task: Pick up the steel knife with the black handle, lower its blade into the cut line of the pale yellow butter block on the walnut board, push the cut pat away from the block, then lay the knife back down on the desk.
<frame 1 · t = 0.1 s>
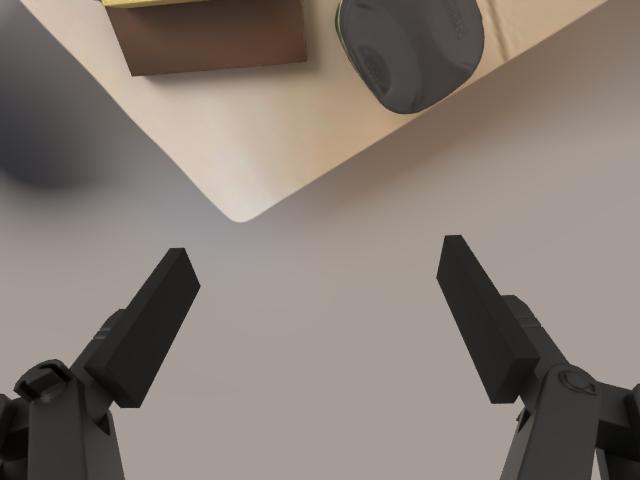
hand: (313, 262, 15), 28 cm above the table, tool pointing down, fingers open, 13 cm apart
coffee jar: (377, 33, 33), on the table
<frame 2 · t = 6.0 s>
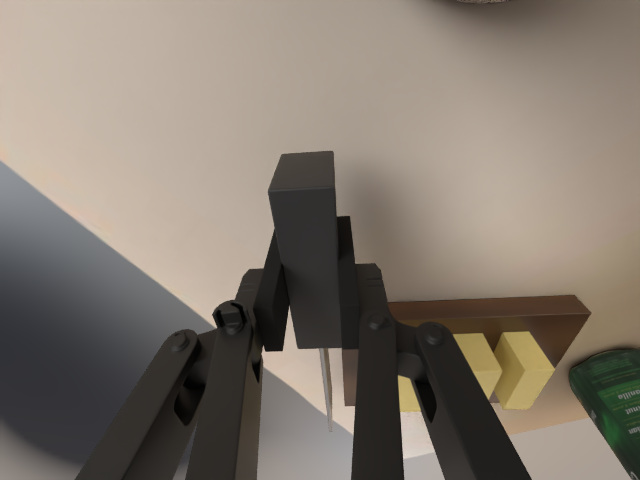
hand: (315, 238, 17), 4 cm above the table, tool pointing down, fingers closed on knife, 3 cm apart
butter block: (418, 355, 27), point 2 cm above the table, touching board
knife: (315, 235, 17), point 4 cm above the table, touching gripper
board: (441, 348, 30), on the table
coffee jar: (604, 370, 32), on the table
butter pat: (505, 352, 27), point 2 cm above the table, touching board
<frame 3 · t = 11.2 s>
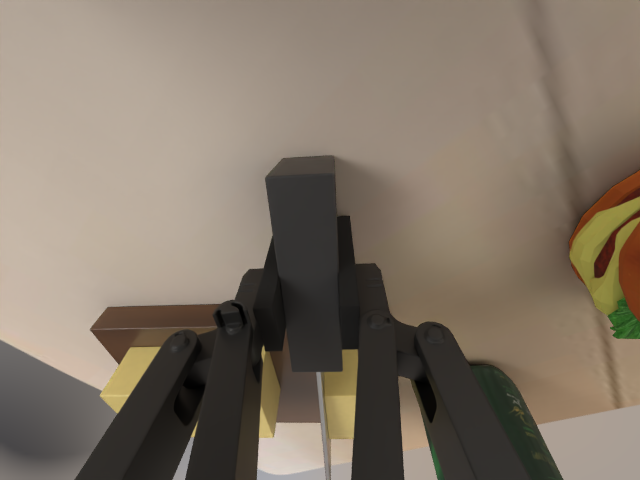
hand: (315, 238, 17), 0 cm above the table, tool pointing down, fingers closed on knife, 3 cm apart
butter block: (210, 369, 23), point 2 cm above the table, touching board
knife: (314, 247, 17), point 1 cm above the table, tilted 11°, touching butter pat, gripper
board: (259, 359, 25), on the table
coffee jar: (464, 387, 27), on the table
butter pat: (341, 368, 22), point 2 cm above the table, touching board, knife
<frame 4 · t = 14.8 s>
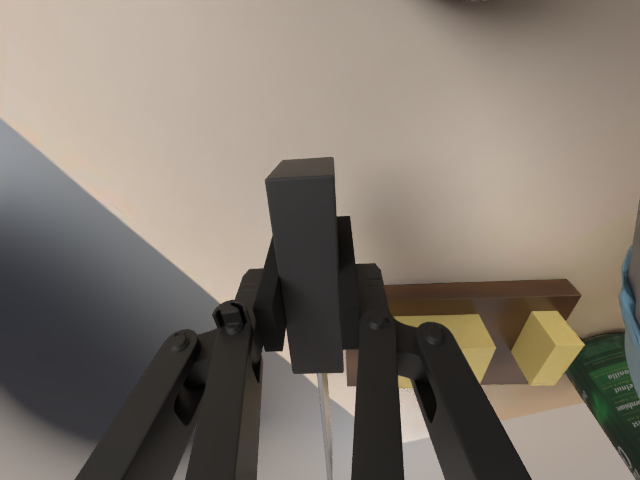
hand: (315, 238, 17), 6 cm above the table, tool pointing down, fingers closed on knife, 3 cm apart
butter block: (418, 336, 29), point 2 cm above the table, touching board
knife: (314, 248, 17), point 7 cm above the table, tilted 11°, touching gripper
board: (440, 331, 31), on the table
coffee jar: (597, 354, 33), on the table
butter pat: (532, 332, 28), point 2 cm above the table, touching board
when the fingers open (0 cm above the table, at t = 17.7 s): knife stays where it is, on the table.
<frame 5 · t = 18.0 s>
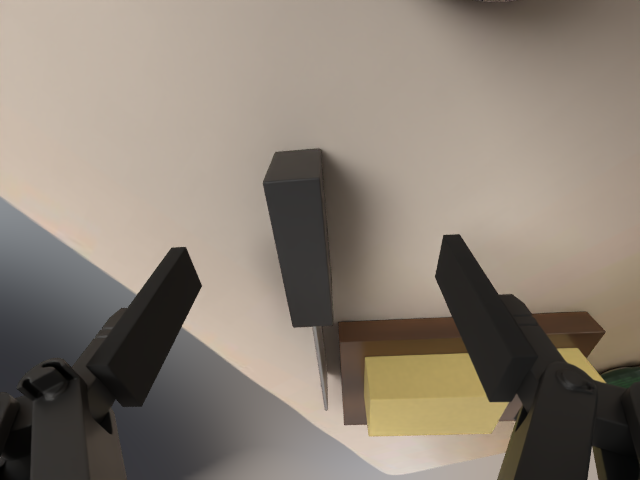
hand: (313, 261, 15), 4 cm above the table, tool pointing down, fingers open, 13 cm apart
butter block: (422, 375, 26), point 2 cm above the table, touching board
knife: (307, 225, 19), on the table
board: (445, 365, 28), on the table
coffee jar: (615, 386, 30), on the table
butter pat: (548, 369, 25), point 2 cm above the table, touching board
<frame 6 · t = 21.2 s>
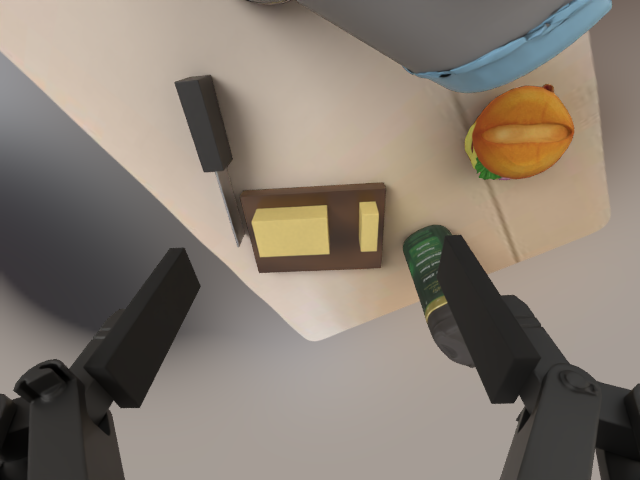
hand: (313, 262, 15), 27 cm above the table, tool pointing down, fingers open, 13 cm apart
cheeseburger: (498, 130, 37), on the table
butter block: (294, 224, 43), point 2 cm above the table, touching board
knife: (212, 121, 37), on the table
board: (316, 227, 46), on the table
coffee jar: (429, 247, 48), on the table
butter pat: (366, 220, 43), point 2 cm above the table, touching board
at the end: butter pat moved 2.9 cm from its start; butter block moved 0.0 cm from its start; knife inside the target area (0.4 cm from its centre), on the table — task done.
